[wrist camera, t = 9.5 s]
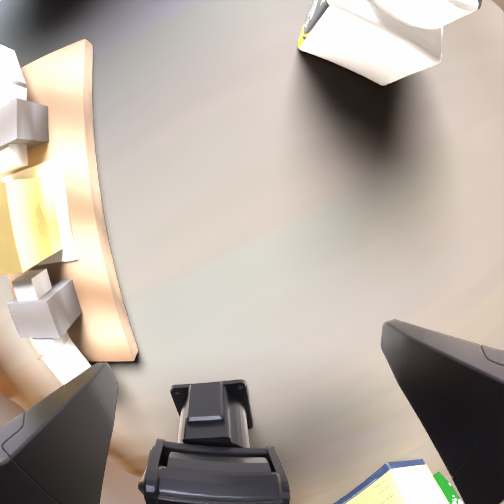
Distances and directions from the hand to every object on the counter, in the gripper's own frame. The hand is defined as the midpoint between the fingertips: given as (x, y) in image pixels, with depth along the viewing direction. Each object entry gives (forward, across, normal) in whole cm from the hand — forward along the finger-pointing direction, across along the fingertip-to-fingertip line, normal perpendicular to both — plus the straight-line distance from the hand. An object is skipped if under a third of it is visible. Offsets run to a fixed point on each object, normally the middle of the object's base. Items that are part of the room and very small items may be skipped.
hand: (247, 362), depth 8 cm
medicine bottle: (+12, -11, -16) cm, 23 cm away
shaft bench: (+12, +14, -5) cm, 19 cm away
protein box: (+12, -17, +44) cm, 49 cm away
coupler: (+10, +14, -5) cm, 18 cm away
